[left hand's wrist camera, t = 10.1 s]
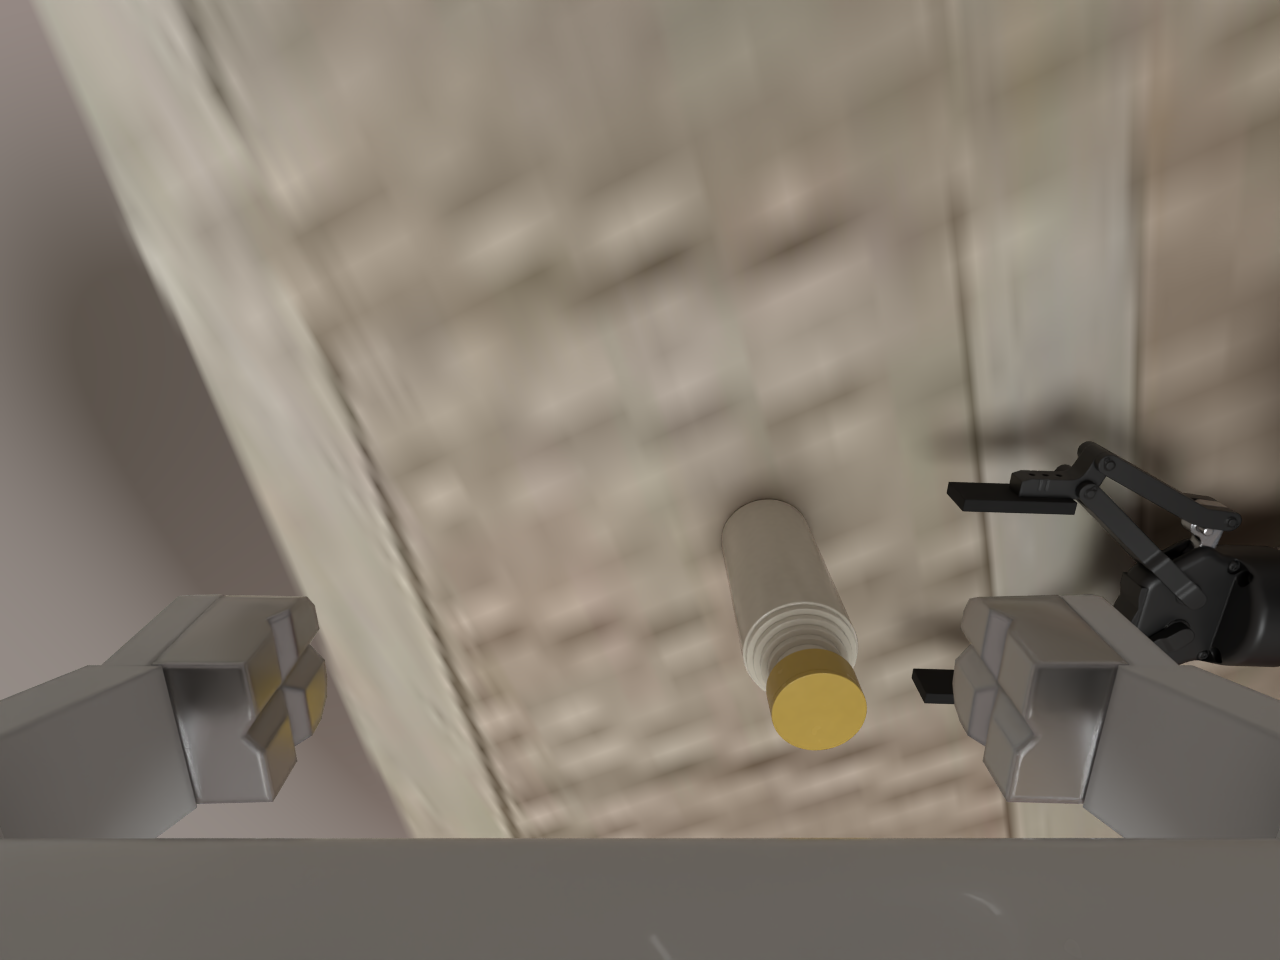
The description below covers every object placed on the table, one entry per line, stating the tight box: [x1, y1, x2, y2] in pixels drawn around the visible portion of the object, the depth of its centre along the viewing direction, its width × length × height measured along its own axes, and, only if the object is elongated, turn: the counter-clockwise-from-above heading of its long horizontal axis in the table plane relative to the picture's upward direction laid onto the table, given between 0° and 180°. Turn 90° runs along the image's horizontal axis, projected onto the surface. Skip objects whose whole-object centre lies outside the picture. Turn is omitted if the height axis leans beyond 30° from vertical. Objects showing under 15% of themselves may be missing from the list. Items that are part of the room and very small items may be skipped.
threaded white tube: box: [721, 499, 858, 692], centre depth 47 cm, size 6×6×18 cm
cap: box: [766, 648, 867, 750], centre depth 39 cm, size 4×4×2 cm
